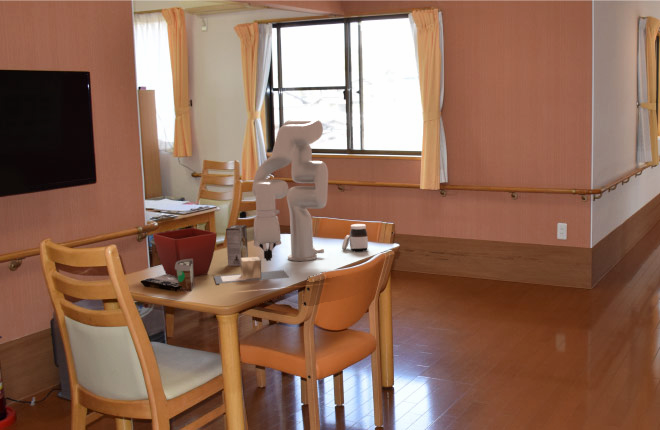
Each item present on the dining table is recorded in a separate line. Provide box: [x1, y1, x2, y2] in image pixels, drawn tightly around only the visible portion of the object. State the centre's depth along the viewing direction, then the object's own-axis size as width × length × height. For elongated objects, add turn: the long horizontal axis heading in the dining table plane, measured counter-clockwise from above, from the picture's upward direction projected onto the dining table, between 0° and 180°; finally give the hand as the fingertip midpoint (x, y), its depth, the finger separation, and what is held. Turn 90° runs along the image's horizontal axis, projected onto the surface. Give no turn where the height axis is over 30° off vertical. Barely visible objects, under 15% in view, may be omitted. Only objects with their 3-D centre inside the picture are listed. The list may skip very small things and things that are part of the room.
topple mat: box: [213, 269, 290, 286], centre depth 288 cm, size 28×13×1 cm, turn 103°
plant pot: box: [152, 227, 217, 279], centre depth 298 cm, size 19×19×17 cm
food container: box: [175, 259, 195, 292], centre depth 275 cm, size 12×6×10 cm, turn 5°
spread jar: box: [341, 223, 369, 253], centre depth 335 cm, size 12×11×12 cm
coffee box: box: [225, 224, 249, 267], centre depth 314 cm, size 9×6×16 cm
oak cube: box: [240, 256, 262, 279], centre depth 288 cm, size 7×7×7 cm
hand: (268, 260), depth 289 cm, fingers closed
